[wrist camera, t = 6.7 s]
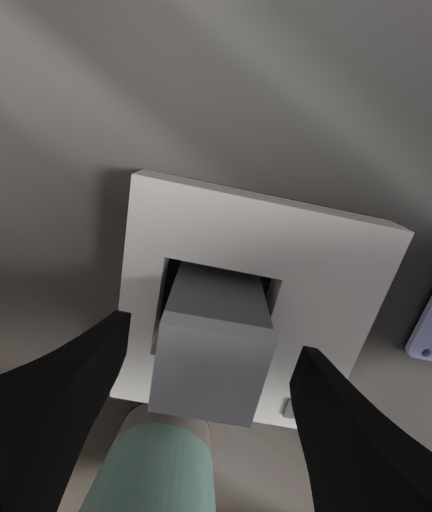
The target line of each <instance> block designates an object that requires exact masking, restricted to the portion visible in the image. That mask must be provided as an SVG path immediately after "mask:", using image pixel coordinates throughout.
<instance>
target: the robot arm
mask: <svg viewBox="0 0 432 512" xmlns="http://www.w3.org/2000/svg"><path fill="white" fill-rule="evenodd" d="M130 321H131V313H129V312H124V311H119V310H116V311H114V312H113V313H111V314H110V315H109V316H107V317H106V318H104V319H103V320H102V321H100V322H99V323H97V324H96V325H94V326H93V327H92V328H90V329H89V330H87V331H86V332H84V333H82V334H81V335H79V336H78V337H76V338H75V339H73V340H71V341H70V342H68V343H66V344H65V345H63V346H61V347H60V348H58V349H56V350H54V351H52V352H50V353H48V354H46V355H44V356H42V357H40V358H38V359H36V360H34V361H32V362H30V363H27V364H25V365H22V366H20V367H17V368H15V369H13V370H10V371H8V372H5V373H3V374H0V512H57V510H58V507H59V504H60V502H61V499H62V497H63V494H64V492H65V489H66V487H67V484H68V482H69V479H70V476H71V474H72V471H73V469H74V466H75V464H76V462H77V459H78V457H79V454H80V452H81V449H82V447H83V445H84V442H85V440H86V438H87V435H88V433H89V431H90V429H91V427H92V425H93V423H94V421H95V419H96V417H97V416H98V414H99V412H100V410H101V408H102V406H103V404H104V402H105V400H106V398H107V397H108V395H109V393H110V391H111V389H112V387H113V385H114V383H115V381H116V379H117V377H118V375H119V373H120V370H121V367H122V365H123V362H124V359H125V357H126V354H127V347H128V338H129V329H130ZM425 349H426V350H425ZM423 350H425V351H424V352H422V351H423ZM405 351H406V352H407V354H408V355H409V356H410V357H412V358H416V359H422V360H427V361H432V296H431V298H430V300H429V302H428V304H427V306H426V308H425V310H424V311H423V313H422V315H421V317H420V319H419V321H418V323H417V325H416V327H415V329H414V331H413V333H412V334H411V336H410V338H409V340H408V342H407V344H406V346H405ZM289 387H290V396H291V403H292V409H293V413H294V417H295V421H296V425H297V429H298V433H299V437H300V441H301V445H302V449H303V452H304V456H305V460H306V464H307V469H308V473H309V478H310V484H311V490H312V497H313V503H314V509H315V512H432V452H431V451H430V450H428V449H427V448H426V447H424V446H423V445H421V444H420V443H419V442H417V441H416V440H415V439H413V438H412V437H411V436H409V435H408V434H407V433H406V432H404V431H403V430H402V429H400V428H399V427H398V426H397V425H396V424H395V423H393V422H392V421H391V420H390V419H389V418H387V417H386V416H385V415H384V414H383V413H382V412H380V411H379V410H378V409H377V408H376V407H375V406H374V405H373V404H372V403H371V402H370V401H369V400H368V399H366V398H365V397H364V396H363V395H362V394H361V393H360V392H359V391H358V390H357V389H356V388H355V387H354V386H353V385H352V384H351V383H350V382H349V381H348V380H347V378H346V377H345V376H344V375H343V374H342V373H341V372H340V371H339V370H338V369H337V368H336V367H335V366H334V365H333V364H332V362H331V361H330V360H329V359H328V358H327V357H326V356H325V355H324V354H323V353H322V352H321V351H320V350H319V349H318V348H314V347H308V346H303V347H302V350H301V353H300V355H299V358H298V361H297V363H296V366H295V369H294V372H293V374H292V377H291V380H290V382H289Z"/></svg>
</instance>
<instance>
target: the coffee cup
mask: <svg viewBox="0 0 432 512" xmlns="http://www.w3.org/2000/svg"><path fill="white" fill-rule="evenodd" d="M147 410H148V403H144V404H142V405H139V406H138V407H136V408H134V409H133V410H132V411H131V412H130V413H129V414H128V415H127V416H126V418H125V420H124V422H123V424H122V426H121V428H120V430H119V432H118V434H117V436H116V438H115V440H114V442H113V444H112V446H111V448H110V450H109V452H108V454H107V456H106V458H105V460H104V462H103V464H102V466H101V468H100V470H99V472H98V474H97V476H96V478H95V480H94V482H93V484H92V486H91V488H90V490H89V492H88V494H87V496H86V498H85V500H84V502H83V504H82V506H81V508H80V510H79V512H216V507H215V494H214V480H213V466H212V454H211V441H210V431H209V427H208V425H207V423H206V421H205V420H198V419H192V418H186V417H179V416H173V415H167V414H160V413H154V412H148V411H147Z"/></svg>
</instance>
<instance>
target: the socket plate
mask: <svg viewBox="0 0 432 512" xmlns="http://www.w3.org/2000/svg"><path fill="white" fill-rule="evenodd" d="M414 233H415V232H413V231H411V230H409V229H407V228H405V227H403V226H401V225H399V224H397V223H395V222H392V221H390V220H386V219H381V218H376V217H371V216H366V215H362V214H357V213H352V212H347V211H342V210H338V209H333V208H328V207H323V206H318V205H314V204H309V203H304V202H299V201H295V200H290V199H285V198H280V197H275V196H271V195H266V194H261V193H256V192H251V191H247V190H242V189H237V188H232V187H227V186H223V185H218V184H213V183H208V182H203V181H199V180H194V179H189V178H184V177H180V176H175V175H170V174H165V173H160V172H156V171H151V170H146V169H143V170H140V171H137V172H135V173H132V174H131V185H130V195H129V205H128V215H127V226H126V236H125V246H124V256H123V267H122V277H121V287H120V297H119V308H118V310H119V311H124V312H129V313H131V321H130V329H129V338H128V347H127V354H126V357H125V359H124V362H123V365H122V367H121V370H120V373H119V375H118V377H117V379H116V381H115V383H114V385H113V387H112V389H111V391H110V397H113V398H119V399H125V400H130V401H136V402H142V403H149V396H150V389H151V382H152V374H153V367H154V360H155V353H156V346H157V339H158V332H159V331H158V328H159V321H160V315H161V308H162V302H163V296H164V289H165V283H166V277H167V270H168V264H169V258H171V259H176V260H181V261H187V262H192V263H197V264H202V265H207V266H212V267H217V268H222V269H228V270H233V271H238V272H243V273H248V274H253V275H258V276H263V277H269V278H271V281H270V284H269V287H268V291H267V294H266V298H265V299H266V303H267V306H268V310H269V314H270V318H271V322H272V325H273V329H274V333H275V337H276V341H277V345H276V348H275V352H274V355H273V358H272V361H271V364H270V368H269V371H268V374H267V377H266V380H265V383H264V387H263V390H262V393H261V396H260V399H259V402H258V406H257V409H256V412H255V415H254V418H253V422H259V423H265V424H271V425H277V426H283V427H288V428H294V429H297V425H296V421H295V417H294V413H293V409H292V403H291V396H290V387H289V382H290V380H291V377H292V374H293V372H294V369H295V366H296V363H297V361H298V358H299V355H300V353H301V350H302V347H303V346H308V347H314V348H318V349H319V350H320V351H321V352H322V353H323V354H324V355H325V356H326V357H327V358H328V359H329V360H330V361H331V362H332V364H333V365H334V366H335V367H336V368H337V369H338V370H339V371H340V372H341V373H342V374H343V375H344V376H345V377H346V378H347V379H348V377H349V375H350V373H351V371H352V368H353V366H354V364H355V362H356V360H357V358H358V355H359V353H360V351H361V349H362V347H363V344H364V342H365V340H366V338H367V336H368V334H369V331H370V329H371V327H372V325H373V323H374V320H375V318H376V316H377V314H378V312H379V310H380V307H381V305H382V303H383V301H384V299H385V296H386V294H387V292H388V290H389V288H390V286H391V283H392V281H393V279H394V277H395V275H396V272H397V270H398V268H399V266H400V264H401V262H402V259H403V257H404V255H405V253H406V251H407V248H408V246H409V244H410V242H411V240H412V238H413V235H414Z"/></svg>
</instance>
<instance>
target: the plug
mask: <svg viewBox="0 0 432 512" xmlns="http://www.w3.org/2000/svg"><path fill="white" fill-rule="evenodd" d="M276 345H277V341H276V337H275V333H274V329H273V325H272V322H271V318H270V314H269V310H268V306H267V303H266V299H265V295H264V291H263V287H262V283H261V280H260V276H258V275H253V274H248V273H243V272H238V271H233V270H228V269H222V268H217V267H212V266H207V265H202V264H197V263H192V262H187V261H181V263H180V266H179V269H178V272H177V275H176V278H175V280H174V283H173V286H172V289H171V292H170V295H169V298H168V301H167V304H166V306H165V309H164V312H163V315H162V318H161V321H160V325H159V332H158V339H157V346H156V353H155V360H154V367H153V374H152V382H151V389H150V396H149V403H148V410H147V411H148V412H154V413H160V414H167V415H173V416H179V417H186V418H192V419H198V420H205V421H211V422H217V423H224V424H230V425H236V426H243V427H249V428H251V425H252V422H253V418H254V415H255V412H256V409H257V406H258V402H259V399H260V396H261V393H262V390H263V387H264V383H265V380H266V377H267V374H268V371H269V368H270V364H271V361H272V358H273V355H274V352H275V348H276Z"/></svg>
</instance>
